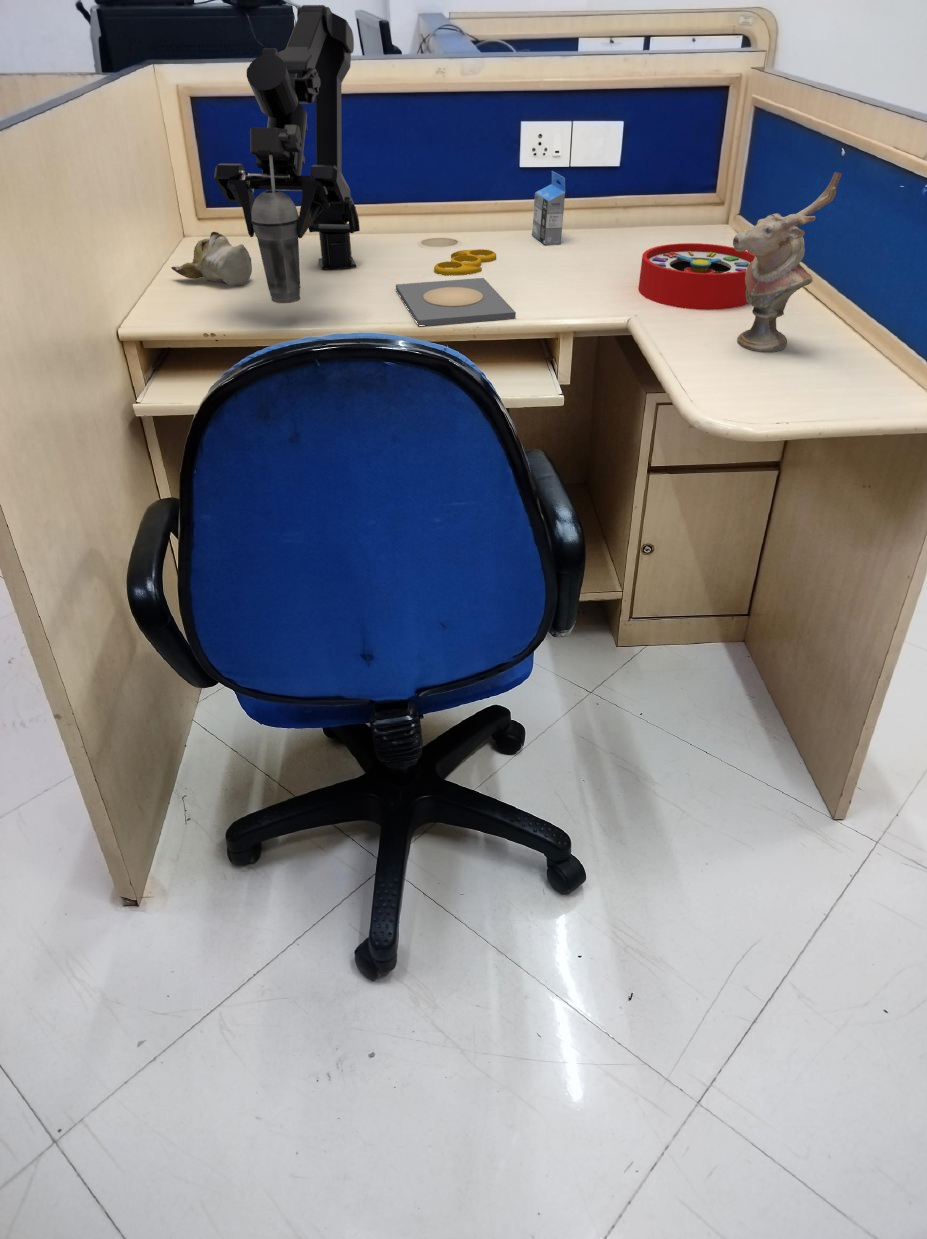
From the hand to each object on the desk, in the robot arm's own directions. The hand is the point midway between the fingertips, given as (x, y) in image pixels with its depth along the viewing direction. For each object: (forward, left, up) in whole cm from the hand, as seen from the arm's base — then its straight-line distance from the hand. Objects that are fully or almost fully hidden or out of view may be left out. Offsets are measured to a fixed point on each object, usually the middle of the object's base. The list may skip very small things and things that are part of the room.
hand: (274, 236), depth 126 cm
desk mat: (-4, +28, -13) cm, 31 cm away
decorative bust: (+26, +67, -13) cm, 73 cm away
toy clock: (0, +71, -14) cm, 72 cm away
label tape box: (-41, +57, -13) cm, 72 cm away
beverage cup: (-1, 0, -10) cm, 10 cm away
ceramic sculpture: (-28, -10, -14) cm, 33 cm away
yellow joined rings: (-27, +36, -14) cm, 47 cm away
